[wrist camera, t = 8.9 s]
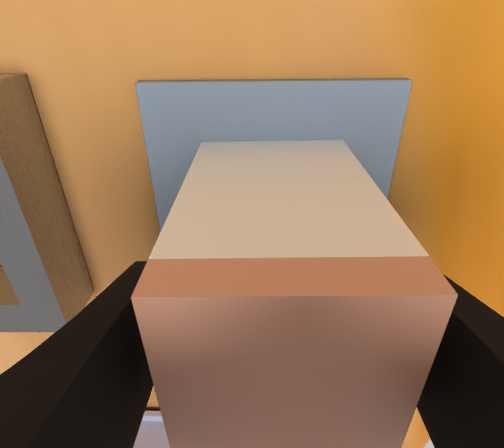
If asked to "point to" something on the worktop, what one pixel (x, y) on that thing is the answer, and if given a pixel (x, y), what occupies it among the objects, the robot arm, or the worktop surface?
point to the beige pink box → (288, 303)
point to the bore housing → (34, 224)
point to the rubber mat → (268, 121)
